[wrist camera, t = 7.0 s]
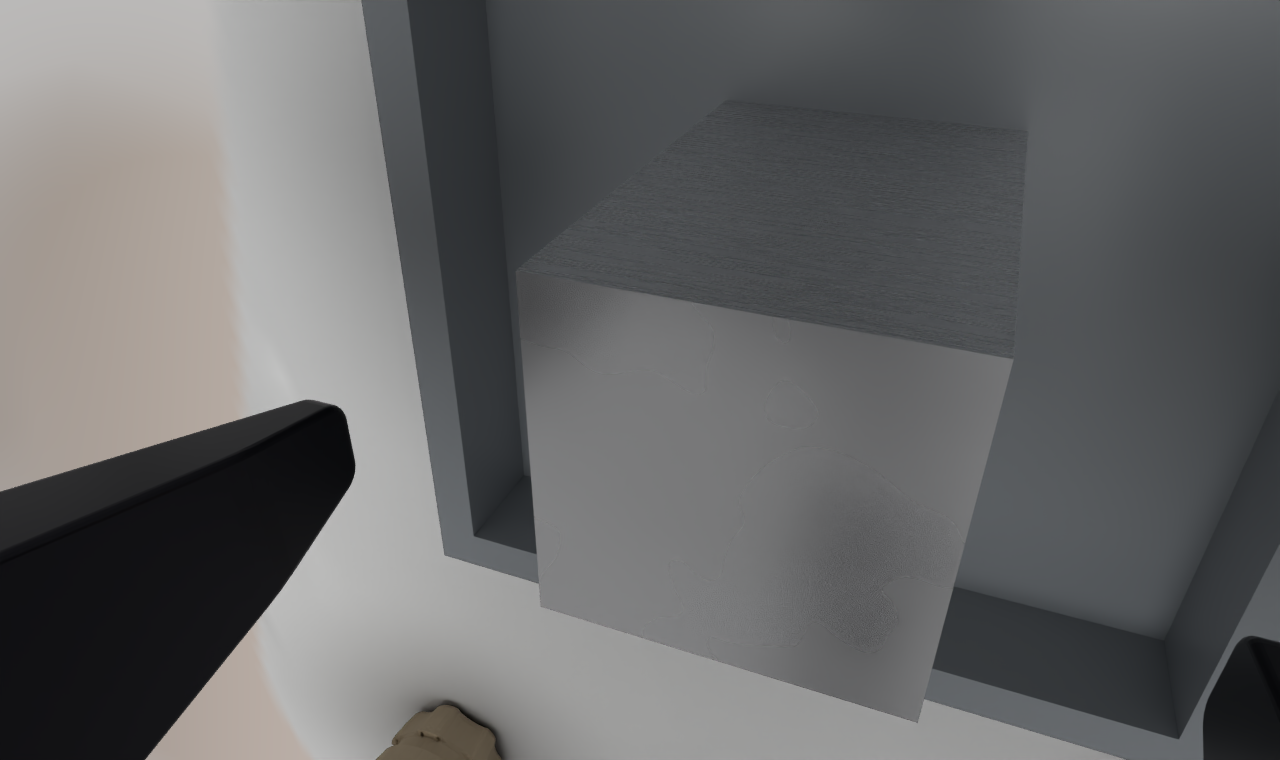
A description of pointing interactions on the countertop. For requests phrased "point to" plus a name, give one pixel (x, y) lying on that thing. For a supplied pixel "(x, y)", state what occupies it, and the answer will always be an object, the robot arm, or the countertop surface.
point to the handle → (442, 738)
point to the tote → (1046, 305)
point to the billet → (777, 391)
